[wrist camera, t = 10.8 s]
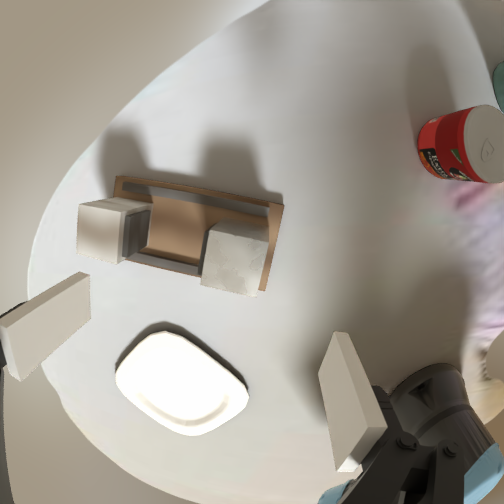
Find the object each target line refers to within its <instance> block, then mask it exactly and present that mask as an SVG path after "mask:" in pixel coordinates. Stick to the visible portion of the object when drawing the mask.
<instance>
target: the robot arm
mask: <svg viewBox="0 0 504 504" xmlns="http://www.w3.org/2000/svg"><path fill="white" fill-rule="evenodd" d="M90 319H91V311H90V275H88V274H85V273H82V272H78V273H76V274H74V275H72V276H70V277H69V278H67V279H65V280H63V281H62V282H60V283H58V284H56V285H55V286H53V287H51V288H50V289H48V290H46V291H44V292H43V293H41V294H39V295H38V296H36V297H34V298H33V299H31V300H29V301H27V302H23V303H20V304H18V305H17V306H15V307H14V308H13V309H10V310H9V311H8V312H5V313H4V314H2V315H1V316H0V504H14V501H13V497H12V493H11V487H10V482H9V476H8V469H7V461H6V453H5V442H4V426H3V425H4V424H3V388H4V371H3V367H4V366H5V365H6V364H7V366H8V370H9V373H10V375H11V376H13V377H14V378H16V379H18V380H19V381H22V380H24V379H25V378H26V377H27V375H29V374H30V373H31V372H32V371H33V370H34V369H35V368H36V367H37V366H38V365H39V364H41V363H42V362H43V361H44V360H45V359H46V358H47V357H48V356H49V355H50V354H52V353H53V352H54V351H55V350H56V349H57V348H58V347H59V346H60V345H61V344H63V343H64V342H65V341H66V340H67V339H68V338H69V337H70V336H72V335H73V334H74V333H75V332H76V331H77V330H78V329H80V328H81V327H82V326H83V325H84V324H85V323H87V322H88V321H89V320H90ZM318 377H319V381H320V386H321V391H322V396H323V401H324V406H325V412H326V417H327V422H328V427H329V433H330V438H331V444H332V449H333V455H334V461H335V467H336V472H354V471H355V470H356V469H357V468H358V466H359V465H360V464H362V469H363V472H362V473H361V474H360V475H359V476H358V477H357V479H355V480H353V479H351V480H349V481H347V482H346V483H344V484H341V485H339V486H336V487H333V488H331V489H329V490H327V491H326V492H324V493H323V495H322V496H321V497H320V499H319V502H318V504H476V503H477V502H479V501H480V500H481V499H482V498H483V497H484V496H485V495H487V494H488V493H489V492H490V491H491V490H492V488H493V487H494V486H495V485H496V484H497V483H498V481H499V480H500V479H501V477H502V475H503V473H504V457H503V456H502V453H501V451H500V450H499V445H498V443H496V442H495V441H494V439H493V438H492V436H491V435H490V433H489V432H488V430H487V429H486V427H485V426H484V424H483V423H482V421H481V420H480V419H479V417H478V416H477V414H476V413H475V411H474V410H473V408H472V407H471V406H470V403H469V399H468V395H467V392H466V388H465V383H464V379H463V377H462V375H461V374H460V373H459V372H458V370H457V369H456V368H455V367H454V366H452V365H450V364H435V365H432V366H429V367H426V368H424V369H422V370H420V371H418V372H416V373H414V374H413V375H411V376H410V377H409V378H407V379H406V380H405V381H404V382H402V383H401V384H400V385H399V386H398V387H397V388H396V389H395V391H394V392H393V393H392V394H391V396H390V397H388V395H387V393H386V392H385V391H384V390H383V389H382V388H381V387H380V386H371V385H370V382H369V380H368V378H367V375H366V373H365V371H364V368H363V366H362V364H361V361H360V359H359V357H358V355H357V352H356V350H355V348H354V346H353V343H352V341H351V339H350V337H349V334H348V333H344V332H337V331H334V333H333V335H332V338H331V341H330V344H329V346H328V349H327V352H326V354H325V357H324V359H323V362H322V364H321V367H320V370H319V372H318Z"/></svg>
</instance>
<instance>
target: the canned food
mask: <svg viewBox="0 0 504 504" xmlns="http://www.w3.org/2000/svg"><path fill="white" fill-rule="evenodd" d="M418 154H419V157H420V160H421V162H422V164H423V165H424V167H425V168H426V169H427V170H428V171H429V172H430V173H431V174H433V175H434V176H436V177H438V178H441V179H451V180H462V181H473V182H482V183H493V184H494V183H501V182H503V181H504V115H503V114H502V113H501V112H500V111H499V110H498V109H496V108H495V107H493V106H490V105H480V106H476V107H471V108H468V109H464V110H461V111H457V112H454V113H451V114H447V115H444V116H441V117H437V118H434V119H431V120H430V121H428V122H427V123H426V124H425V125H424V126H423V128H422V129H421V131H420V133H419V136H418Z"/></svg>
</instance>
